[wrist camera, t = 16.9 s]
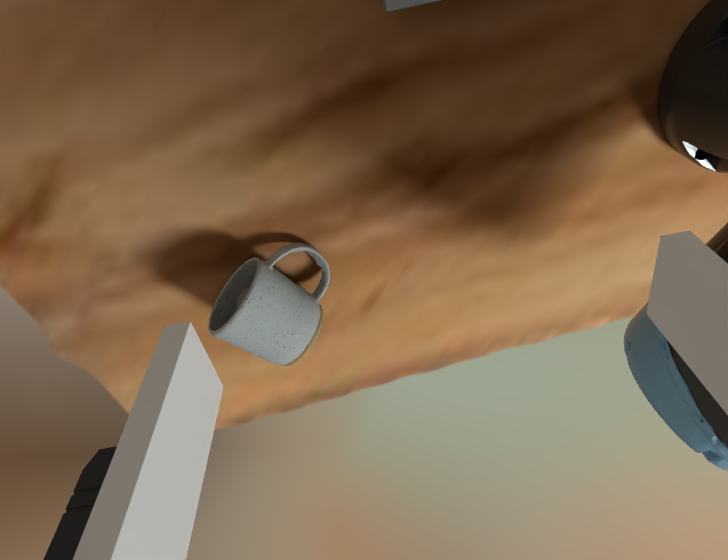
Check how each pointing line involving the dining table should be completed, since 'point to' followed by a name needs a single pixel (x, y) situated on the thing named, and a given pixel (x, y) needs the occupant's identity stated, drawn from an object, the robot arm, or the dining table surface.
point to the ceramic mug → (270, 309)
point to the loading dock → (403, 3)
